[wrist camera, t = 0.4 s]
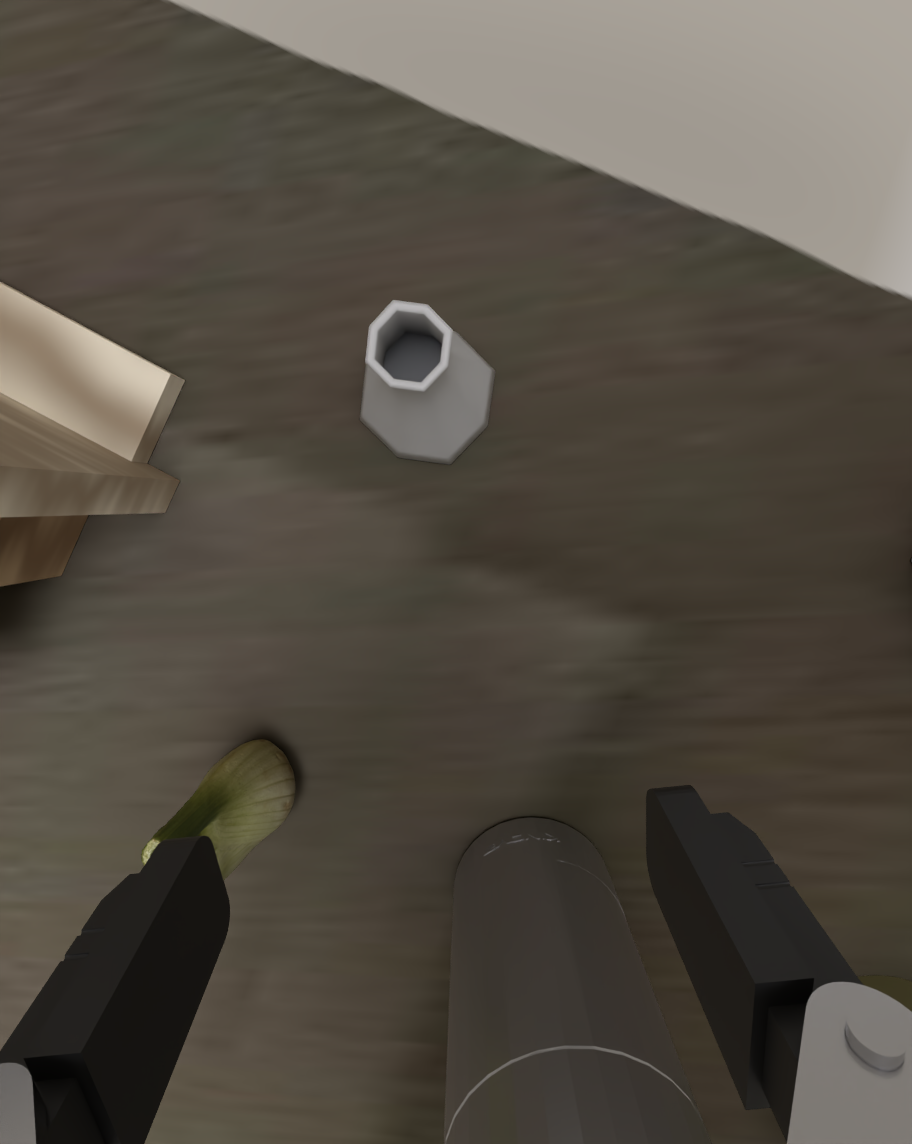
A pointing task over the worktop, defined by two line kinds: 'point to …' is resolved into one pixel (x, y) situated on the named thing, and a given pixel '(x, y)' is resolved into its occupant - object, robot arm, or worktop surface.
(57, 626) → the worktop surface
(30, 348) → the wooden display stand
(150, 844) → the fennel bulb
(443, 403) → the flask
